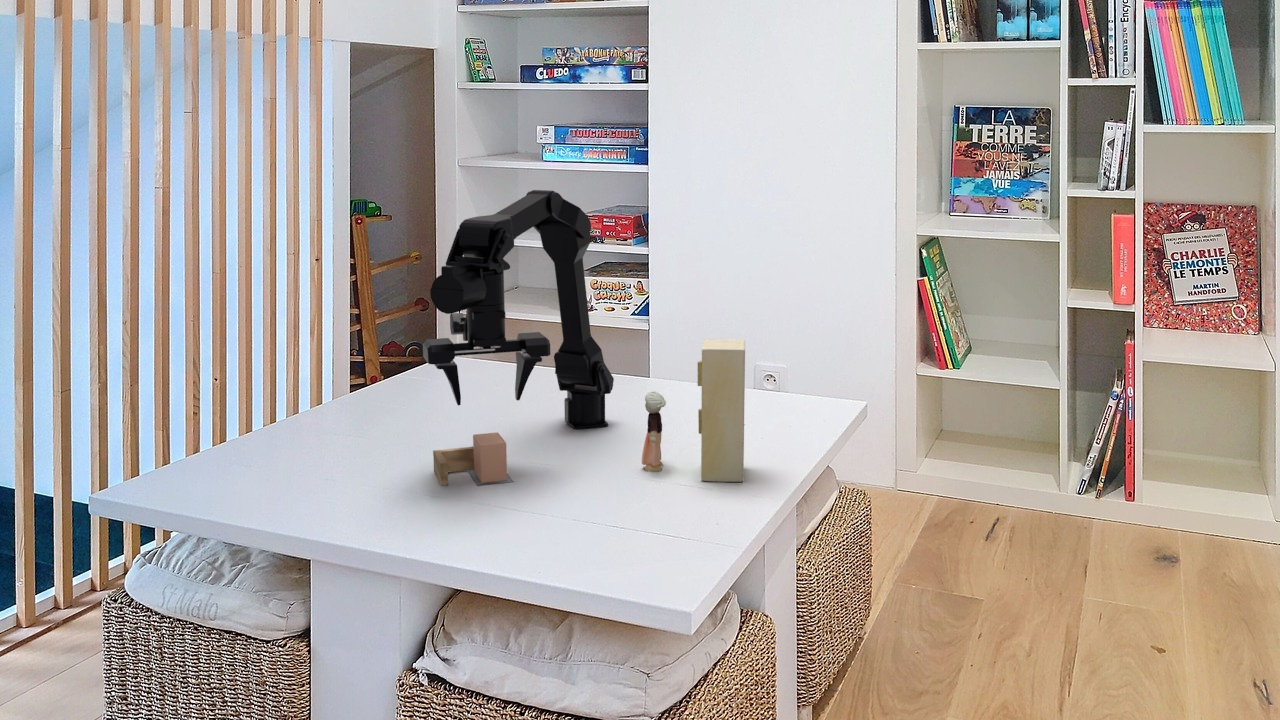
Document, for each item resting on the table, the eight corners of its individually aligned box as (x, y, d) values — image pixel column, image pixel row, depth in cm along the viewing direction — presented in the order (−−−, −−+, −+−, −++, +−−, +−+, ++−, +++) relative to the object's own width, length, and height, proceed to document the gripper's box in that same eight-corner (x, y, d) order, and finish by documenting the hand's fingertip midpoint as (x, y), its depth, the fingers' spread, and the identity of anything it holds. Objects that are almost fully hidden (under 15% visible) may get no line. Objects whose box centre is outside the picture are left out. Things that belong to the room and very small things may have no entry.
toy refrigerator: (697, 465, 189) (699, 338, 185) (743, 466, 189) (746, 338, 184) (695, 481, 182) (697, 349, 177) (743, 483, 181) (746, 350, 176)
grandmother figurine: (639, 461, 192) (639, 385, 189) (662, 460, 192) (663, 385, 189) (643, 476, 184) (643, 398, 181) (668, 475, 184) (668, 397, 181)
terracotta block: (507, 480, 182) (506, 442, 181) (481, 482, 181) (480, 445, 179) (498, 468, 187) (498, 432, 186) (474, 471, 186) (472, 434, 185)
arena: (505, 464, 190) (504, 443, 189) (517, 481, 182) (517, 459, 181) (433, 471, 186) (433, 450, 185) (443, 489, 178) (442, 467, 177)
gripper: (532, 290, 188) (534, 385, 192) (415, 297, 182) (419, 394, 186) (550, 302, 178) (552, 402, 182) (426, 309, 172) (430, 412, 176)
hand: (488, 402), depth 181 cm, fingers open, 9 cm apart
